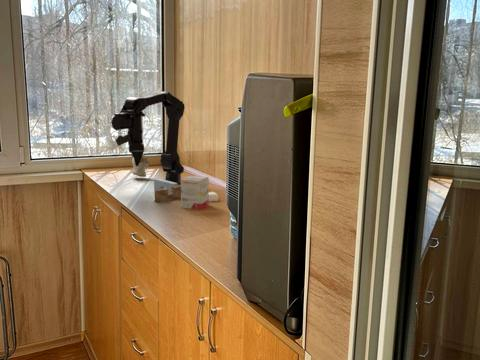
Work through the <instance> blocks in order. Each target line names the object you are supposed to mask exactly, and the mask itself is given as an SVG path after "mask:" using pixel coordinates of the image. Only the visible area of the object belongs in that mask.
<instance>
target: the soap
mask: <svg viewBox="0 0 480 360" xmlns="http://www.w3.org/2000/svg"><path fill="white" fill-rule="evenodd" d="M218 200H219V195H218V193H216V192H215V191H209V202H218Z"/></svg>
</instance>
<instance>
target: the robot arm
mask: <svg viewBox="0 0 480 360" xmlns="http://www.w3.org/2000/svg"><path fill="white" fill-rule="evenodd" d="M160 103H161V104H162V106H163V107H164V108H165V114H166V117H167V118H168V122H167V123H168V125H167V133H166V134H167V135H166V147H165V151H164V153H161V155H160V161H159V163H160V166H161V167H162V171H163V172H165V173H166V174H165V180H167V181H171V182H175V183H178V185H181V179H182V177H181V174H183V173H184V171H185V168H184V166H183V165H182V164H181V163H180V156H179V154H178V143H179V142H178V141H179V132H180V131H179V130H180V121H181V118H182V117H183V116H184V112H185V108H186V107H185V103H184V102H183V101H181V100H180V99H179V98H177V97H176V96H174V95H173V94H172V93H171V92H169V91H160V92H157V93H153V94H149V95H145V96H142V97H141V96H140V97H135V96H134V97H132V96H131V97H127V98H126V99H125V101H124V103H123V105H122V107H121V110H120V112H116V113H114V114H113V115H114V116H113V117H112V118H111V121H110V122H111V123H110V124H111V127H112V128H113V130H114V131H122V130H127V133H123V134H120V135H117V136H116V137H114V140H115V141H114V142H116V145H117V147H119V146H122V145H123V144H126V143H127V144H128V152H129V153H130V154H131V153H132V154H133V157H134V161H135V165H136V166H139V163H140V160H141V157H142V155H143V154H144V152H145V145H144V142H143V141H144V140H143V122H142V121H143V120H142V119H143V118H142V117H146V114H145V113H144V112H143V111H144V110H146V109H147V108H148V107H150V106H153V105H156V104H160Z"/></svg>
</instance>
